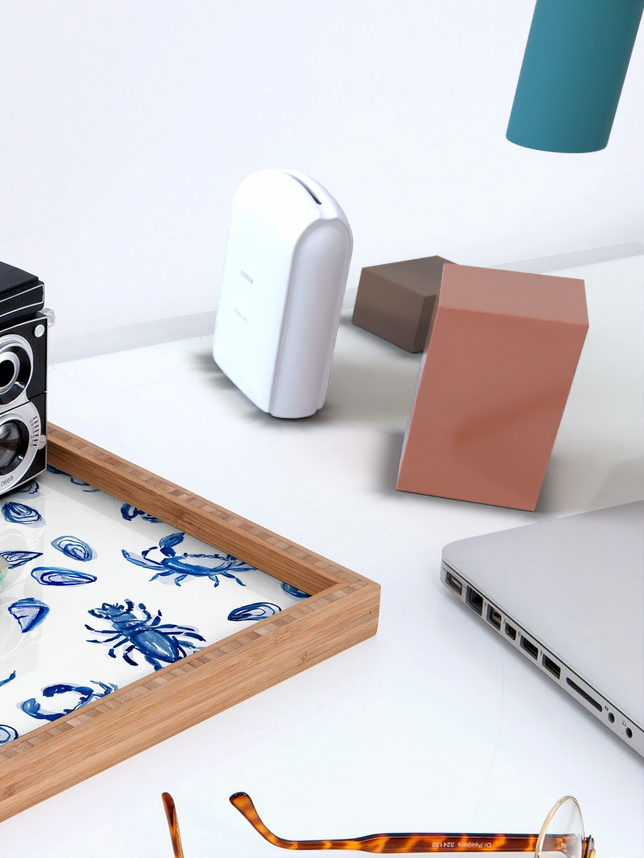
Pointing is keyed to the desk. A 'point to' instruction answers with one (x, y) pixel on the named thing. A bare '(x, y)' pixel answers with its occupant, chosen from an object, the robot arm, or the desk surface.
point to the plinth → (493, 385)
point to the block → (399, 300)
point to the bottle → (573, 74)
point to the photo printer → (282, 291)
